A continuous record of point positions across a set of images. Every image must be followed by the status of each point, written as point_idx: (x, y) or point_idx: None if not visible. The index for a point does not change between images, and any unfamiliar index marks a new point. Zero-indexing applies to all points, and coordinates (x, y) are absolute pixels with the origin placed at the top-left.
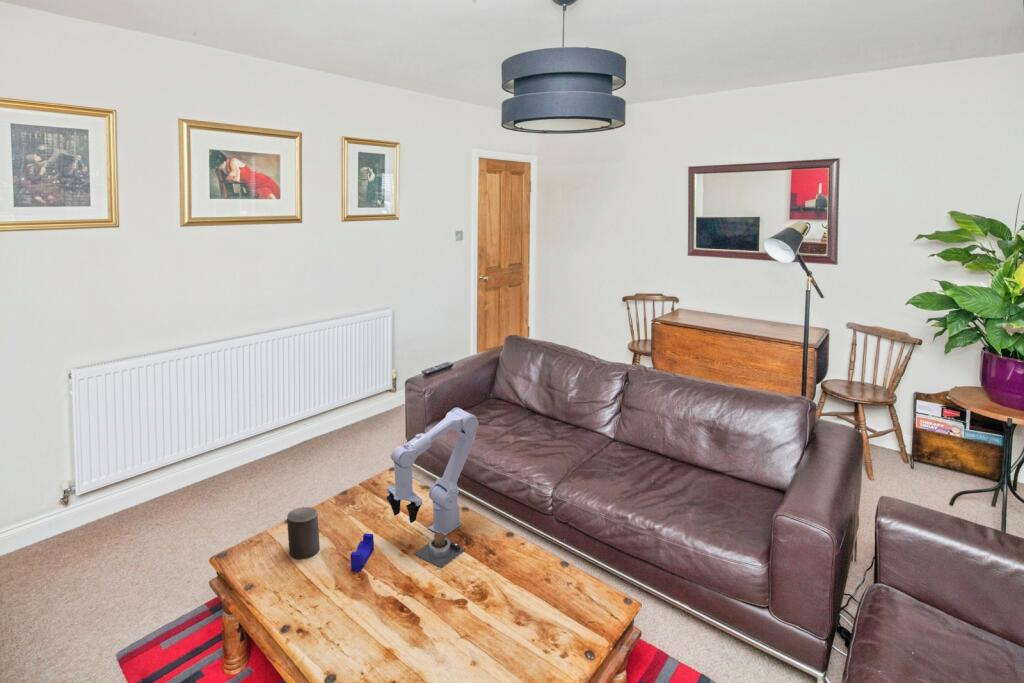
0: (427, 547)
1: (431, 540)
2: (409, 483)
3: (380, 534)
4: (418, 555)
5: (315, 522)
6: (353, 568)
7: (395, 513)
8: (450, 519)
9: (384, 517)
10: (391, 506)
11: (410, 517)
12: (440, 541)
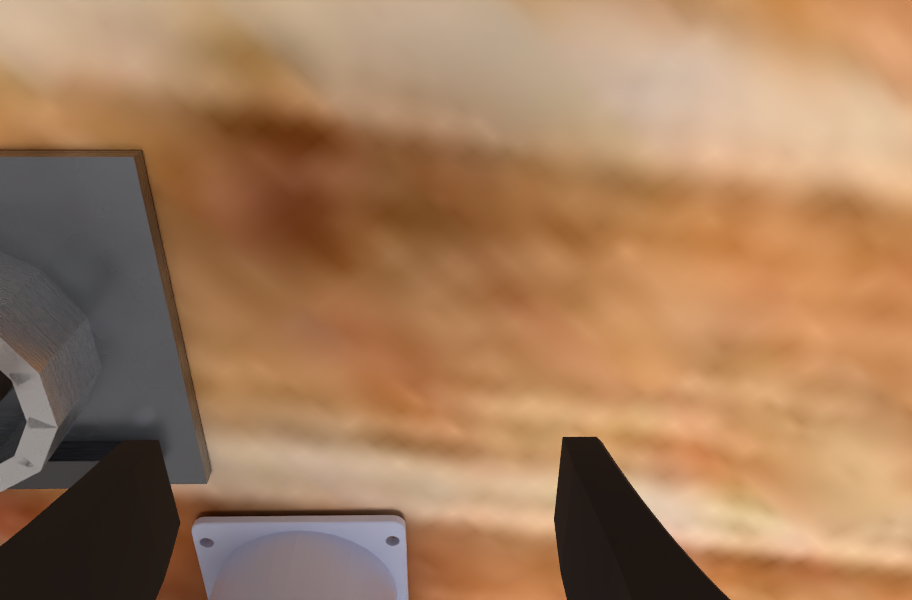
0: (127, 317)
1: (34, 388)
2: None
3: (764, 202)
4: (60, 157)
5: None
6: None
7: (567, 470)
8: None
9: (909, 425)
10: (688, 571)
11: (41, 523)
12: None
